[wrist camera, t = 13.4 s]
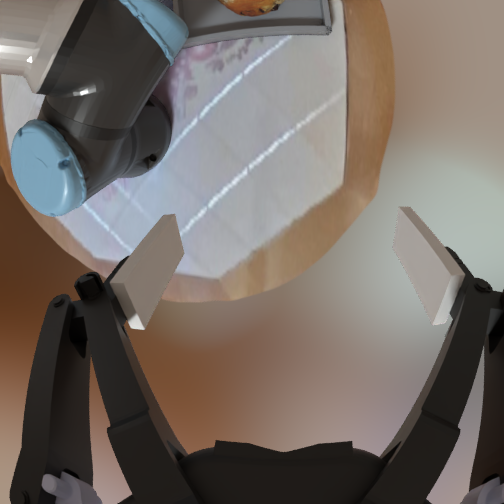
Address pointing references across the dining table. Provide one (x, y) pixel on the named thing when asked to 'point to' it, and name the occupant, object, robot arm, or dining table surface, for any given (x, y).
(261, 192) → the dining table surface
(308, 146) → the dining table surface
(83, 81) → the robot arm
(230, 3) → the bread roll
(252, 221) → the dining table surface
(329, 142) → the dining table surface
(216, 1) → the tray
